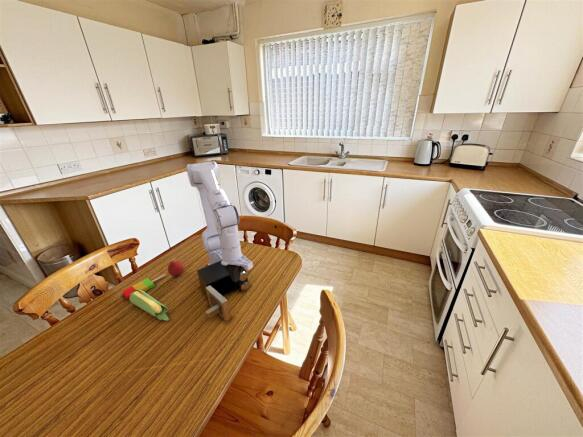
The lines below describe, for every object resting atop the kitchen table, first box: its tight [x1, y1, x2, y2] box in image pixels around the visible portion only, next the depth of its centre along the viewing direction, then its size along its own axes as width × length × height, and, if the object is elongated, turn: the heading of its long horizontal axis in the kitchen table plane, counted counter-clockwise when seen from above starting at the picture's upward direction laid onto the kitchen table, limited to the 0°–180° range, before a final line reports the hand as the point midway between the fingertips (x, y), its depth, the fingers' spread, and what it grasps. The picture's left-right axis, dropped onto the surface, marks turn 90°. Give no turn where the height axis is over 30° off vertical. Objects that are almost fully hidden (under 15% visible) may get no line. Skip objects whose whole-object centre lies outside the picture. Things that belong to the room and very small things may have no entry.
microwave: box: [196, 260, 250, 298], centre depth 87 cm, size 12×14×8 cm
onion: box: [167, 258, 185, 277], centre depth 94 cm, size 6×6×8 cm
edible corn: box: [128, 290, 170, 321], centre depth 79 cm, size 5×20×5 cm, turn 59°
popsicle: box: [122, 273, 167, 301], centre depth 91 cm, size 6×15×2 cm, turn 144°
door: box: [205, 286, 231, 322], centre depth 75 cm, size 6×10×8 cm, turn 47°
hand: (236, 280), depth 77 cm, fingers closed
